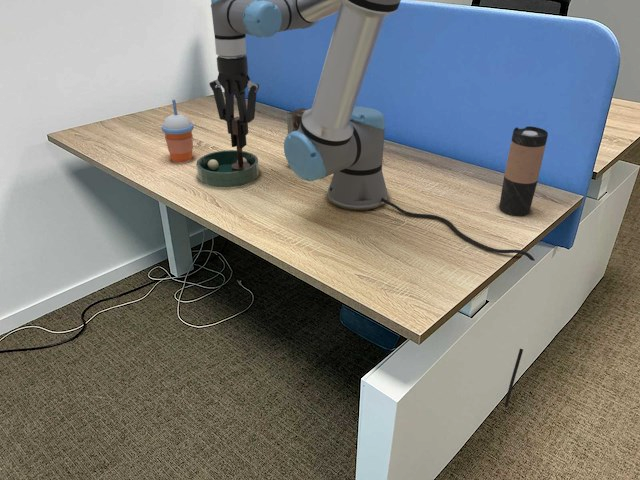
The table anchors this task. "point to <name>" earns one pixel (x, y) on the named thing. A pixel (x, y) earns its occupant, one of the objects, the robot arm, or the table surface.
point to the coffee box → (294, 119)
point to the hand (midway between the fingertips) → (239, 145)
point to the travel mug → (522, 170)
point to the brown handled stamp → (238, 148)
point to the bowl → (227, 169)
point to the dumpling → (213, 164)
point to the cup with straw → (178, 136)
